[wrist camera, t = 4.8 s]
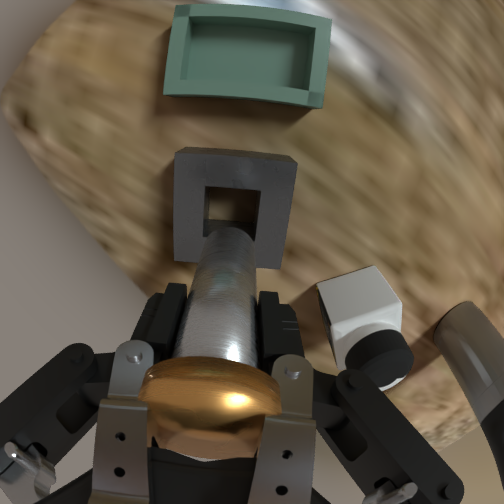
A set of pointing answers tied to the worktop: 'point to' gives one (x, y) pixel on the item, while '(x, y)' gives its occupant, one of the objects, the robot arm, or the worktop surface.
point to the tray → (248, 54)
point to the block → (232, 176)
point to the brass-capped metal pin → (215, 359)
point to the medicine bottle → (365, 326)
